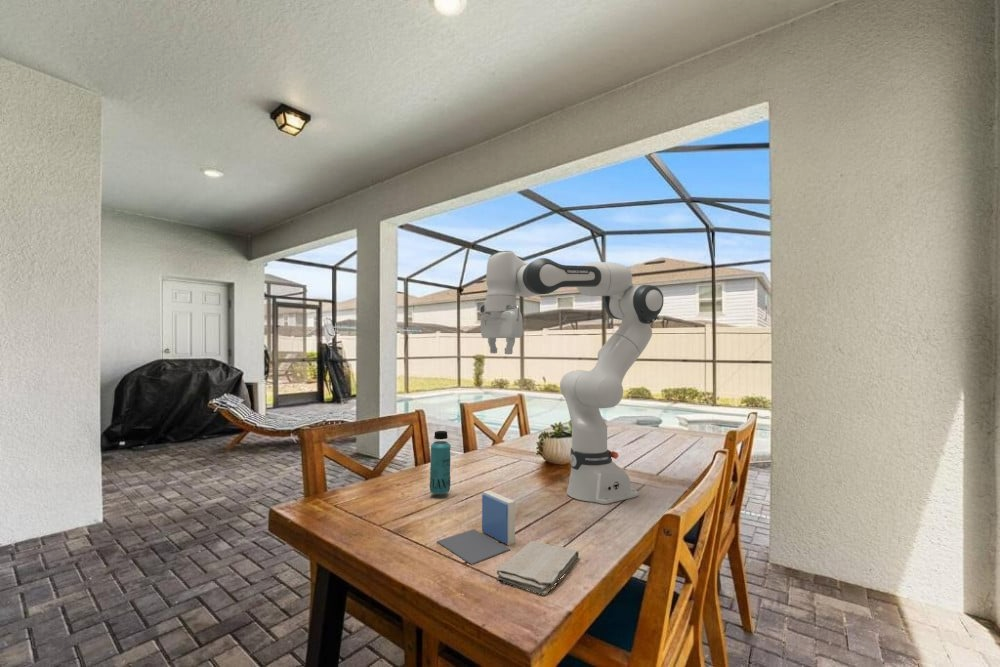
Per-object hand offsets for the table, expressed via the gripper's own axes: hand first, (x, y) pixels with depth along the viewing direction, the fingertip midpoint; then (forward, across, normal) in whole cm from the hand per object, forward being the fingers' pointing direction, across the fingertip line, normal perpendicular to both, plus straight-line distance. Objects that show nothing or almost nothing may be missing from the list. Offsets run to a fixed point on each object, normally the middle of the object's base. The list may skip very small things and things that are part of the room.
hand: (500, 353), depth 130 cm
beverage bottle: (+45, +18, +12) cm, 50 cm away
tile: (+45, -17, +10) cm, 49 cm away
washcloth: (+45, -35, +9) cm, 58 cm away
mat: (+45, -19, +17) cm, 51 cm away
